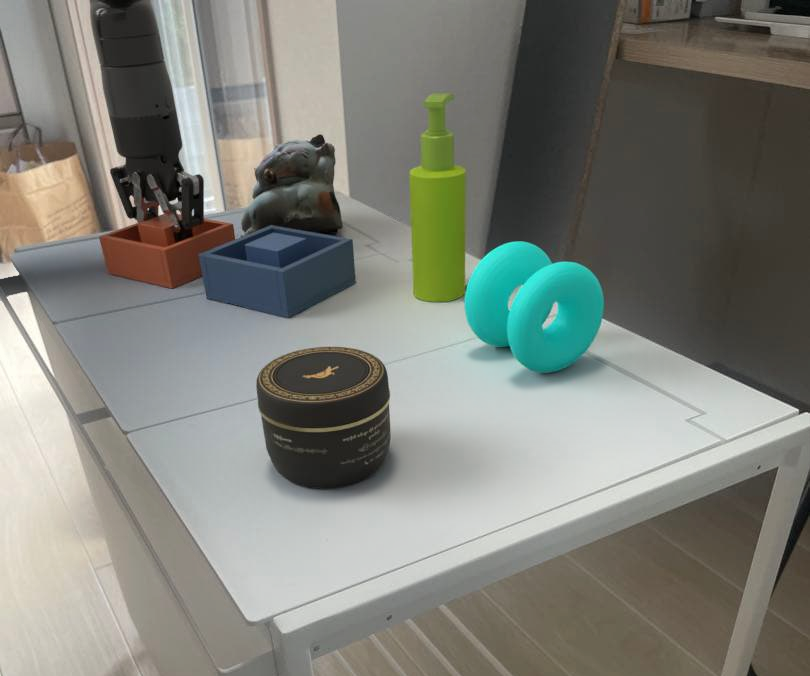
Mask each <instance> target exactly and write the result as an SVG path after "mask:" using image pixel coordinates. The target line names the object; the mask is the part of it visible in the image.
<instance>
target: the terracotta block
mask: <svg viewBox="0 0 810 676" xmlns="http://www.w3.org/2000/svg"><path fill="white" fill-rule="evenodd" d="M162 214H163V215H162ZM162 214H159V215H160V216H159V215H158V216H157V217H154V218H152V219H149V220H146V221H143V222H140V223H138V222H136V223H137V225H138V229H139V234H140V238H141V243H146V244H151V245H156V246H161V247H167V246H170V245H173V244H175V238H174V232H175V231H174V229H173V227H172V225H171V222H170V220H169V217H168V215H166V214H164V213H162ZM178 217H179V220H182V216H178ZM192 233H193V236H196V232H195V227H193V229H192Z"/></svg>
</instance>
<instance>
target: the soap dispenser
mask: <svg viewBox="0 0 810 676" xmlns="http://www.w3.org/2000/svg"><path fill="white" fill-rule="evenodd" d="M454 100H455V94H453V93H431V94H430V95H428V96H427V97H426V99H425V100H424V102H423V107H424V109H428V110H427V111H428V129H426V130H425V131H423V132H422V133H420V164H421V165H419V166H416V167H413V168H411V169H410V170H409V196H410V199H409V200H410V226H411V259H412V260H411V261H412V289H413V291H412V292H413V296H414V297H415V298H416V299H419V300H421V301H425V302H430V303H431V302H432V303H442V302H451V301H455V300H458V299H460V298H461V297H463V296H465V294H466V193H467V192H466V185H467V180H466V179H467V178H466V177H467V176H466V175H467V172H466V171H467V170H466V168H465V167H463V166H462V165H457V164H455V163H454V162H455V160H454V159H455V157H454V154H455V151H454V148H455V147H454V141H455V140H454V139H455V138H454V133H453V132H452V131H450V130H449V129H447V128H446V105H447V104H448V103H449V102H450V101H454Z"/></svg>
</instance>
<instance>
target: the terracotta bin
mask: <svg viewBox="0 0 810 676" xmlns="http://www.w3.org/2000/svg"><path fill="white" fill-rule="evenodd" d="M163 214H164V213H162V214H158V216H160V215H163ZM177 215H178V216H181V214H180V213H177ZM137 223H138V222H135V223H133V224H130V225H128V226H125V227H122V228H119V229H115V230H113V231H111V232H107V233H105V234H102V235H98V240H99V244H100V247H101V251H102V255H103V260H104V263H105V267H106V271H107V274H109V275H113V276H117V277H121V278H126V279H130V280H134V281H138V282H142V283H148V284H151V285H155V286H159V287H163V288H168V289H175V288H177V287H180V286H182V285H184V284H187V283H189V282H191V281H194V280H196V279H199V278H201V277H203V276H202V270H201V265H200V259H199V254H201V253H204V252H206V251H209V250H211V249H213V248H216V247H218V246H221V245H223V244H226V243H228V242H231V241H233V240H236V239H237V238H236V234H235V227H234V223H232V222H226V221H221V220H215V219H209V218H204V223H203V224H201V225H197V226H195V232H196V236H193V237H191V238H188V239H186V240H183V241H180V242H178V243H175V244H173V245H170V246H167V247H161V246H156V245H151V244H146V243H141V238H140V234H139V229H138V225H137Z"/></svg>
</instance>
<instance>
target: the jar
mask: <svg viewBox="0 0 810 676" xmlns="http://www.w3.org/2000/svg"><path fill="white" fill-rule="evenodd" d="M255 384H256V396H257V408H258V411H259V413H260V417H261V423H262V431H263V435H264V442H265V447H266V451H267V454H268V456H269V458H270V461H271V463H272V465H273V467H274V468H275V470H276V471H277V472H278V474H280V475H281V476H282V477H284V478H285V479H286V480H287V481H289V482H291V483H293V484H295V485H298V486H301V487H305V488H309V489H310V488H312V489H336V488H343V487H347V486H351V485H355V484H357V483H360V482H362V481H364V480H367V479H368V478H369V477H371V476H373V475H374V474H375V473H376V472H377V471H378V470H379V469H380V468H381V467H382V466H383V464H384V463H385V461H386V459H387V456H388V453H389V450H390V444H391V436H392V433H391V415H390V414H391V413H390V412H391V411H390V401H391V390H390V386H389V385H390V384H389V375H388V370H387V368H386V365H385V364H384V363H383V361H382V360H381V359H379V358H378V356H375V355H374V354H372V353H369V352H367V351H365V350H361V349H358V348H352V347H346V346H345V347H344V346H319V347H318V346H316V347H309V348H303V349H299V350H295V351H292V352H288V353H286V354H283V355H281V356H278V357H276V358H274V359H272V360H271V361H270V362H268V363H267V364H266V365H265V366H263V367H262V369H261V370H260V371H259V373H258V375H257V378H256V383H255Z"/></svg>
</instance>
